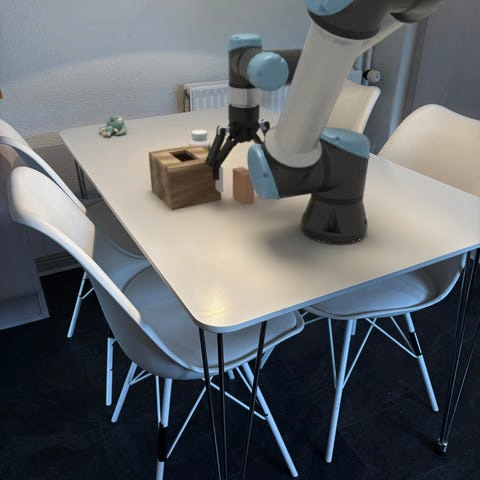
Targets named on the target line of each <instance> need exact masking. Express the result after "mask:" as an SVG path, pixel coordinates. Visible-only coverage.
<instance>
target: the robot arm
mask: <svg viewBox="0 0 480 480" xmlns="http://www.w3.org/2000/svg"><path fill="white" fill-rule="evenodd" d="M302 1H303V3H304V5H305V7H306V13H307V17H308V18H309V20H310V22H311V23H310V27H309V30H308V32H307V36H306V39H305V42H304V45H303V47H302V48H292V49H291V48H288V49H270V50H269V49H263V44H262V42H263V41H262V37H261V36H260V35H259V34H254V33H236V34H233V35H231V36H230V37H229V39H228V51H227V54H228V103H229V105H228V109H227V110H228V113H227V114H228V115H227V117H228V125H227V126H221V125H217V127H216V130H215V131H216V132H215V137H214V139H213V142H212V143H211V148H210V151H209V153H208V155H207V158H206V160H205V163H206V164H207V165H208V166H210V167H212V169H213V178H214V179H215V180H216V190H218V191H219V192H220V193H221V194H222V193H224V167H222V165H223V163H224V162H225V160H226V159H227V157H228V156H229V155H230V153H231V152H232V150H233V149H234V147H236V146H237V145H238V143H239V144H243V143H249V142H254V144H252V145H251V146H249V148H248V151H247V160H246V162H247V170H249V176H250V179H251V182H252V185H253V188H254V193H255V194H256V195H257V196H258V198H260V199H262V200H263V201H264V200H265V201H271V200H277V201H278V200H279V201H280V200H281V199H282V200H283V199H285V198H293V197H300V196H305V195H310V198H309V200H308V202H307V203H308V204H307V205H306V208H305V210H304V212H303V214H302V216H301V219H300V229H301V232H302V233H303V232H304V233H305V234H304V233H303V234H304V235H305V236H306V237H308V236H309V238H310V237H311V239H312V238H313V239H312V240H314V239H316V240H315V241H317V240H320V241H324V242H323V243H325V242H330V243H329V244H331V243H348V244H350V243H349V242H353V241H357V240H359V239H361V238H363V237H364V236H365V237H366V235H367V232H368V219H367V217H366V216H367V215H366V210H365V205H364V194H365V193H364V192H365V186H366V181H367V174H368V167H369V159H370V158H371V156H370V149H371V147H370V146H371V142H370V139H369V138H368V137H367V136H366V135H364V134H362V133H360V132H358V131H354V130H351V129H347V128H342V127H334V126H327V124H328V122H329V120H330V118H331V115H332V113H333V110H334V108H335V107H336V104H337V102H338V99H339V97H340V94H341V93H342V90H343V88H344V85H345V83H346V81H347V79H348V76H349V75H350V73H351V70H352V68H353V66H354V64H355V61H356V60H357V58H358V57H359V56H361V55H362V54H364V53H365V52H366V51H367V50H369V49H370V48H372V47H373V46H375V45H376V44H378V43H380V42H381V41H382V40H383V39H385V38H386V37H388V36H389V35H391V34H392V33H394V32H395V31H396V30H398V29H399V28H401V27H402V26H403V25H414V24H416V23H419V22H420V21H422V20H423V19H425V18H426V17H428V16H429V15H431V14H432V13H433V12H434V11H437V9H438V8H440V6H441V5H443V3H445V2H446V0H302ZM283 87H289V89H288V91H287V95H286V98H285V101H284V103H283V107H282V109H281V112H280V115H279V118H278V121H277V124H275V125H273V126H271V123H270V122H269V121H268V120H266V119H261V120H260V105H259V104H260V102H261V91H264V92H276V91H278V90H280V89H281V88H283ZM259 120H260V121H259ZM259 130H261V133H262V134H263V136H264V138H263V140H262V139H261V137H260V136H259V135H258V132H259ZM224 141H225V142H224ZM365 237H364V238H365ZM364 238H363V239H364ZM361 240H362V239H361ZM320 241H319V242H320ZM359 241H360V240H359ZM357 242H358V241H357ZM353 243H354V242H353Z"/></svg>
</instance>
